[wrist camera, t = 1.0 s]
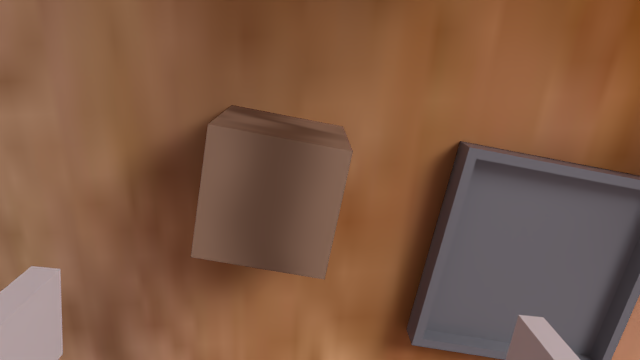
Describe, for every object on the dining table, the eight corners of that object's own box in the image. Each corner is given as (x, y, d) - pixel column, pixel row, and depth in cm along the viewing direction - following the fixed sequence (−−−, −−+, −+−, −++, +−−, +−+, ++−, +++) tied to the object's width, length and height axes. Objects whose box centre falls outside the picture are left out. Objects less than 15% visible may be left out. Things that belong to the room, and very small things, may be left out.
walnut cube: (217, 209, 30) (190, 257, 24) (232, 105, 28) (208, 124, 22) (321, 228, 31) (324, 279, 24) (342, 126, 29) (352, 151, 22)
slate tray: (406, 329, 33) (411, 344, 31) (460, 141, 29) (469, 147, 28) (589, 358, 34) (604, 375, 32) (664, 180, 30) (685, 188, 29)
